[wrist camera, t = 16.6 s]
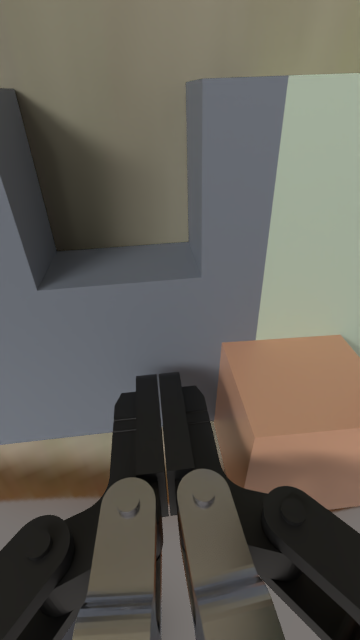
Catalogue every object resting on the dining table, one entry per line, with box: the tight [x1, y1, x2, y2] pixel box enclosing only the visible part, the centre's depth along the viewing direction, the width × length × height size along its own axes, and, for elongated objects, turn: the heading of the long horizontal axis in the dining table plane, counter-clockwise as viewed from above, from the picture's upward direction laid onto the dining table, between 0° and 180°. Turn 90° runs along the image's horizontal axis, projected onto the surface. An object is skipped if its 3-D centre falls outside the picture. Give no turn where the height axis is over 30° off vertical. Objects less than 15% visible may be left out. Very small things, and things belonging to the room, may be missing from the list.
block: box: [214, 335, 360, 510], centre depth 12 cm, size 4×4×4 cm
